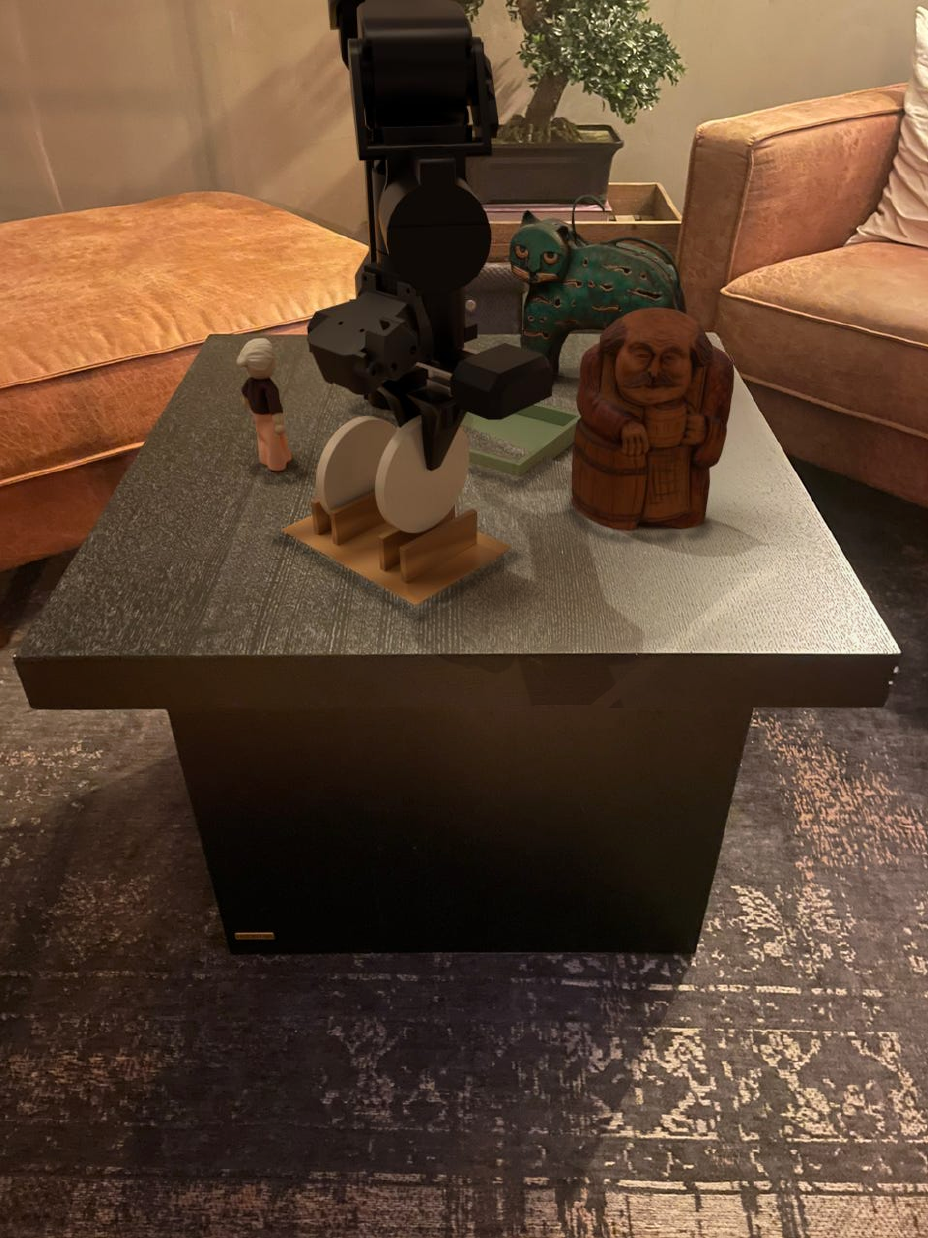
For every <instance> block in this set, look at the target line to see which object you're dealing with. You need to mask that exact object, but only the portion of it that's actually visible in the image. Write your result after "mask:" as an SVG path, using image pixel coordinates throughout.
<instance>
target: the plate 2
mask: <svg viewBox="0 0 928 1238" xmlns="http://www.w3.org/2000/svg"><path fill="white" fill-rule="evenodd" d="M469 448H470V446H469V441H468V438H467V436H466V433H465V430H464V429H463V428H462V426H460V427H459V429H458V431H457V433H456V435H455V437H454V439H453V442H452V444H451V446H450V448H449V450H448V452H447V454H446V456H445V458H444V460H443V462H442V464H441V466H440V467H439V468H438V469H436V470H434V471H429V470H428V469H427V466H426V461H425V456H424V446H423V433H422V420H421V415H419V416H417V417H415V418H413V419H411V420H410V421H408V422H407V423H406V424H404V425H403V426H402V427H401V428H400V429H399V430H398V431H397V432H396V434H395V435H394V436H393V437H392V439H391V440H390V442H389V443H388V445H387V447H386V449H385V451H384V453H383V455H382V457H381V460H380V463H379V466H378V470H377V474H376V481H375V496H376V502H377V506H378V509H379V511H380V513H381V515H382V517H383V518H384V519H385V520H386V521H387V522H388V523H389V524H390V525H392V526H393V527H395V528H397V529H399V530H401V531H404V532H408V533H418V532H423V531H425V530H428V529H430V528H432V527H433V526H435V525H436V524H438V523H439V522H440V521H441V520H442V519H443V518H444V517H445V516H446V515H447V514H448V513H449V512H450V510H451V509H452V508H453V506H454V505H455V506H456V503H457V501H458V499H459V498H460V496H461V494H462V491H463V489H464V487H465V484H466V481H467V478H468V474H469V467H470V462H469Z"/></svg>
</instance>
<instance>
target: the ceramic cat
mask: <svg viewBox="0 0 928 1238" xmlns="http://www.w3.org/2000/svg"><path fill="white" fill-rule="evenodd" d="M584 199H589V200H591V201H593V202H594V203H595V204H597V206H598V207H599V208H600V209H601V211H602V212H603V213H605V211H606V207H605V204H604V203H603V202H602V200H600V198H599V197H597V196H595V195H593V194H583V195H580V196H579V197H577V198H576V199H575V201H574V203H573V205H572V211H571V224H569V223H568V222H567V221H564V220H562V219H560V218H556V217H550V218H546V219H545V218H544V219H542V220H540V219H539V218H537V217H536V216H535V214H534V213H533V212H532V211H530V210H529V209H526V210H525V212H523V215H522V218H521V221H520V224H519V225H520V226H519V228H518V229H517V231H516V232H515V233H514V234H513V236H512V237H511V240H510V242H509V251H508V252H509V254H508V255H509V257H508V258H509V264H510V270H511V273H512V274H513V275H514V277H516V278H517V279H519V280H520V281H521V282H523V283H525V284H527V285H528V286H529V288H528V291H527V294H526V296H525V299H524V302H523V303H524V304H523V308H522V311H523V312H522V313H523V314H522V329H521V332H520V337H519V344H520V348H523V349H526V350H529V351H533V352H536V353H539V354H542V355H544V356H545V357H546V358H547V359H548V361H549V362H550V363H551V364H552V368H553V377H555V376H556V375H558V374H559V370H560V356H561V353H562V352H561V351H562V348H563V345H564V343H566V341H567V339H568V337H569V335H570V334H571V332H575V331H583V330H596V331H602V332H603V331H604V330H605V329H606V328H608V327H609V326H610V325H611V324H612V323H613V322H614V321H616V320H617V319H619V318H621V317H623V316H624V315H626V314H628V313H630V312H633V311H635V310H639V309H644V308H667V309H673V310H677V311H680V312H682V313H684V314H686V315H688V312H687V306H686V299H685V293H684V290H683V287H682V283H681V282H682V281H681V275H680V270H679V268H678V265H677V263H676V261H675V259H674V258H673V256H672V255H671V254H670V252H669V251H668V250H667V249H666V248H665V247H662V246H661V245H659V244H657V243H655V242H653V241H651V240H648V239H645V238H641V237H638V236H637V237H636V236H630V235H629V236H621V237H616V238H613V239H607V240H602V241H597V242H593V241H590V240H588V239H586V238H584V237H583V236H582V235H581V234H580V233H578V231H577V230H576V229H577V228H576V221H575V213H576V212H575V211H576V207H577V205H578V203H579V202H580V201H582V200H584ZM628 241H629V242H635V243H639V244H642V245H644V246H646V247H648V248H652V249H654V250H656V251H658V252H659V253H660V254H661V255H662V256H664V258H665V259H666V260H667V261H668V263H669V264H670V265H671V266H672V268H673V269H672V268H671V267H670V266H669V265H668V264H667V263H666V262H665V261H664V260H663V259H662V258H661V257H659V255H657V254H655V253H653V252H651V251H649V250H647V249H644V248H641V247H639V246H637V245H632V244H628V243H623V242H628ZM673 270H674V271H673ZM674 272H675V273H674Z"/></svg>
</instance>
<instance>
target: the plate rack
mask: <svg viewBox="0 0 928 1238" xmlns="http://www.w3.org/2000/svg"><path fill="white" fill-rule="evenodd" d="M310 505H311V508H310V509H311V515H308V516H306V517H304V518H302V519H300V520H298V521H296V522H294V523H292V524H290V525H288V526H285V527H284V528H281V529H280V530H281V531H282V532H284V533H286V534H287V535H289V536H291V537H292V538H294V539H296V540H298V541H300V542H302V543H303V544H305V545H307V546H309V547H311V548H312V549H315V550H316V551H318V552H319V553H322V554H323V555H325V556H326V557H328V558H330V559H332V560H333V561H336V562H337V563H339V564H341V565H343V566H345V567H347V568H348V569H350V570H352V571H353V572H355V573H357V574H359V575H361V576H362V577H364V578H366V579H367V580H369V581H371V582H373V583H375V584H377V585H379V586H380V587H382V588H384V590H385V589H386V590H387V591H389V592H391V593H392V594H394V595H396V596H397V597H399V598H401V599H403V600H405V601H406V602H409V603H410V604H412V605H413V606H417V605H419V604H421V603H422V602H424V601H426V600H427V599H429V598H430V597H432V596H434V595H436V594H438V593H439V592H440V591H443V590H445V588H447V587H449V586H451V585H452V584H455V583H456V582H457V581H459V580H461V579H463V578H464V577H466V576H468V575H469V574H471V573H472V572H474V571H476V570H478V569H480V568H481V567H482V566H484V565H486V564H487V563H489V562H491V561H493V560H495V559H497V557H500V556H501V555H503V554H504V553H506V552H508V551H510V550H511V549H512V548H513V546H511V545H508V544H506V543H504V542H503V541H500V540H498V539H496V538H494V537H492V536H490V535H488V534H486V533H483V532H481V531H479V530H478V511H477V510H476V509H474V508H471V509H469V510H466V511H465V512H463V513H461V514H459V515H457V516H456V504H455V505H454V506H453V508H452V509H451V510H450V512H449V513H448V514H447V515H446V516H445V517H444V518H443V519H442V520H441V521H440V522H439V523H438V524H436V525H435V526H433V527H432V528H430V529H428V530H425V531H423V532H418V533H408V532H404V531H401V530H399V529H397V528H395V527H393V526H392V525H390V524H389V523H388V522H387V521H386V520H385V519H384V518H383V517H382V515H381V513H380V511H379V509H378V506H377V502H376V496H375V490H373V491H371V492H369V493H367V494H365V495H363V496H361V497H359V498H357V499H355V500H352V501H350V502H348V503H346V504H344V505H342V506H340V507H338V508H336V509H333V510H331V511H330V516H329V515H328V514H327V513H326V512H325V510H324V509H323V508H322V506H321V504H320V502H319V499H318V497H317V498H315V499H313V500H311V501H310Z"/></svg>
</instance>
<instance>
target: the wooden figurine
mask: <svg viewBox="0 0 928 1238" xmlns="http://www.w3.org/2000/svg"><path fill="white" fill-rule="evenodd" d="M598 341H599V343H596V344H594V345H592V346H591V347H590V348H588V349H587V350H586V351H584V353H583V355H582V356H581V360H580V367H579V368H580V369H579V378H578V379H579V380H578V381H579V382H578V390H577V394H576V400H575V402H576V408H577V411H578V413H579V414H580V416H581V417H580V419H578V421H577V424H576V428H575V435H574V443H572V444H573V446H572V454H571V455H572V457H571V501H572V505H573V507H574V508H575V509H576V510H577V511H578V512H579V513H580V514H582V515H583V517H585V518H587V519H588V520H589V521H592V522H594V523H596V524H598V525H600V526H603V527H606V528H609V529H610V528H611V529H613V530H619V531H633V530H635V529H636V528H647V529H648V528H649V529H660V528H669V527H670V528H675V529H681V530H682V529H683V530H685V529H692V528H696V527H698V526H700V525H702V524H703V523H704V522H705V519H706V515H707V509H708V508H707V507H708V502H709V493H710V485H711V473H710V472H711V471H710V469H711V468H713V467H715V466H716V465H718V463H719V462H720V460H721V457H722V454H723V451H724V448H725V442H726V438H727V433H728V428H727V427H728V422H729V418H730V413H731V406H732V399H733V394H734V387H735V386H734V384H735V367H734V363H733V361H732V359H731V358H730V356H729V355H728V353H726V352H725V351H723V350H722V349H720V348H718V347H717V346H716V345H715V346H714V345H713V344H712V342H711V340H710V339H709V337H708V335H707V333H706V332H705V330H704V329H703V327H702V326H701V325H700V324H699V323H698V322H697V321H696V320H695V319H694V318H693V317H691V316H690V315H688V314H687V315H686V314H684V313H682V312H680V311H677V310H673V309H667V308H644V309H639V310H635V311H633V312H630V313H628V314H626V315H624V316H623V317H621V318H619V319H617V320H616V321H614V322H613V323H612V324H611V325H610V326H609V327H608V328H606V329H605V330H604V331H603V330H602V332H601V334H600V335H599V340H598Z"/></svg>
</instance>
